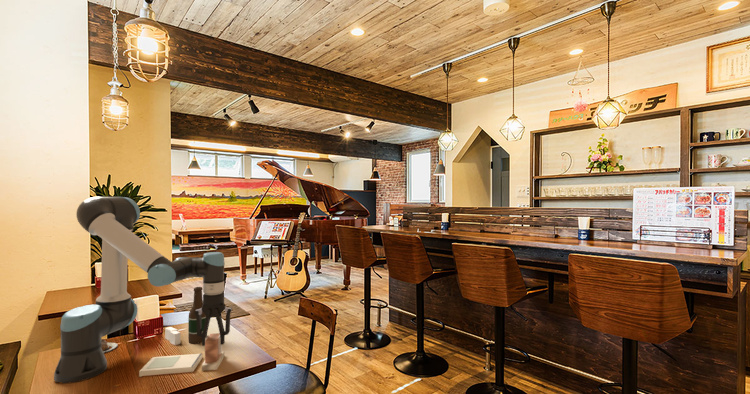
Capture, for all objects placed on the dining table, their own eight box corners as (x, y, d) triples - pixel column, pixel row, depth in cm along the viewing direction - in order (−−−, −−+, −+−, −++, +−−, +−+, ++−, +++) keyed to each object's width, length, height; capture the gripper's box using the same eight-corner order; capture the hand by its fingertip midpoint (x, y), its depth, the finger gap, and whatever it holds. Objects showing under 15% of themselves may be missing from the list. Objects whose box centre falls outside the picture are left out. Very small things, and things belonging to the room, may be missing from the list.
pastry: (76, 358, 148) (76, 346, 148) (90, 346, 159) (90, 336, 159) (111, 354, 151) (111, 343, 151) (122, 343, 163) (122, 333, 163)
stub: (201, 370, 135) (201, 343, 135) (209, 357, 147) (210, 332, 147) (217, 369, 136) (217, 342, 136) (224, 356, 148) (224, 331, 148)
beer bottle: (210, 337, 168) (210, 285, 168) (201, 344, 160) (201, 289, 161) (194, 337, 169) (194, 285, 169) (184, 343, 161) (184, 289, 161)
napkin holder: (162, 338, 169) (162, 325, 169) (189, 335, 172) (189, 323, 173) (152, 350, 155) (152, 337, 155) (181, 347, 158) (181, 334, 158)
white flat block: (139, 376, 131) (139, 370, 131) (152, 362, 143) (152, 356, 143) (193, 372, 134) (193, 366, 134) (202, 358, 146) (202, 353, 146)
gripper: (186, 296, 136) (186, 359, 136) (235, 294, 139) (234, 355, 139) (192, 291, 144) (192, 350, 144) (238, 289, 147) (238, 347, 147)
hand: (213, 353), depth 141 cm, fingers closed on stub, 4 cm apart
